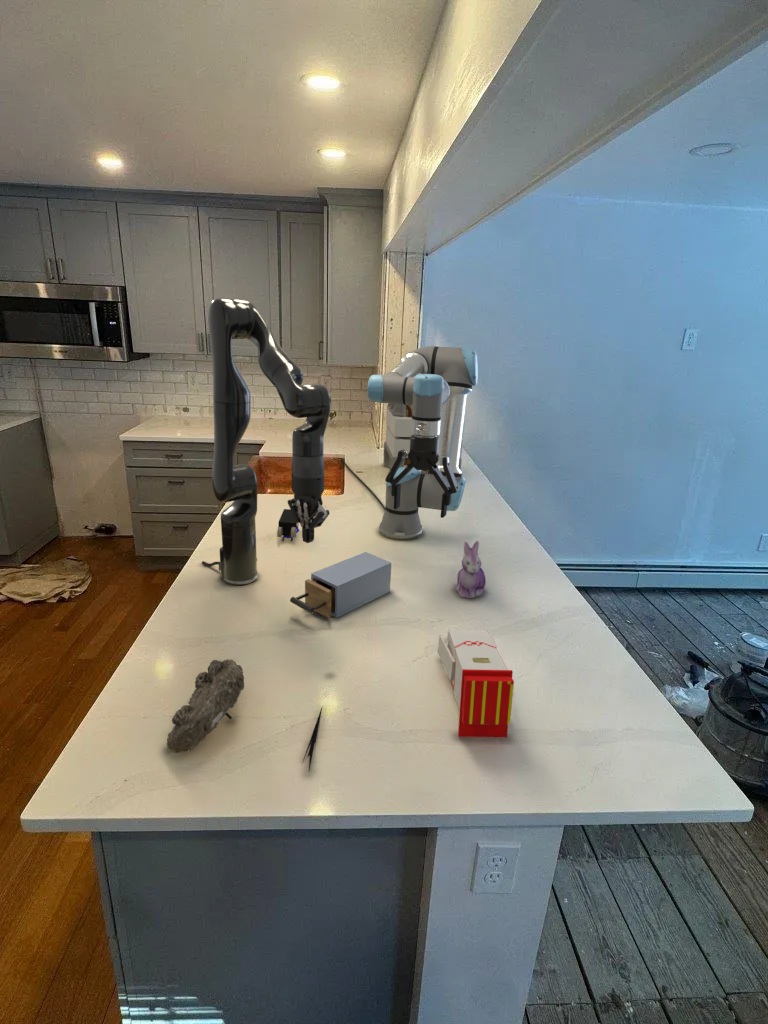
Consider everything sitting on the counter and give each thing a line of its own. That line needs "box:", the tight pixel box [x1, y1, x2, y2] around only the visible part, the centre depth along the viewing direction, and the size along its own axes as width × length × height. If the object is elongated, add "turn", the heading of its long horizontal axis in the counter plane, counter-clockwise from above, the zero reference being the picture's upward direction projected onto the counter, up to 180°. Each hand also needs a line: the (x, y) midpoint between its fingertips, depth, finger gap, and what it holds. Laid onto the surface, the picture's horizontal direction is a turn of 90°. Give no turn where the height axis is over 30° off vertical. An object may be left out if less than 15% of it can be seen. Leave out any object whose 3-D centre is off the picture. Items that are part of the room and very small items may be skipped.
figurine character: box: [276, 508, 300, 543], centre depth 192 cm, size 7×8×15 cm
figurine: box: [455, 540, 487, 599], centre depth 158 cm, size 9×10×15 cm
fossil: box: [166, 658, 245, 754], centre depth 106 cm, size 22×10×15 cm
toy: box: [437, 628, 515, 738], centre depth 117 cm, size 12×13×30 cm
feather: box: [301, 673, 332, 771], centre depth 108 cm, size 2×28×2 cm
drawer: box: [289, 578, 335, 618], centre depth 149 cm, size 25×9×7 cm, turn 138°
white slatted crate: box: [383, 403, 465, 471], centre depth 268 cm, size 34×33×41 cm
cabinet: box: [310, 551, 392, 618], centre depth 153 cm, size 20×10×9 cm, turn 138°
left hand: (308, 541), depth 137 cm, fingers closed
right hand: (419, 512), depth 155 cm, fingers open, 13 cm apart
